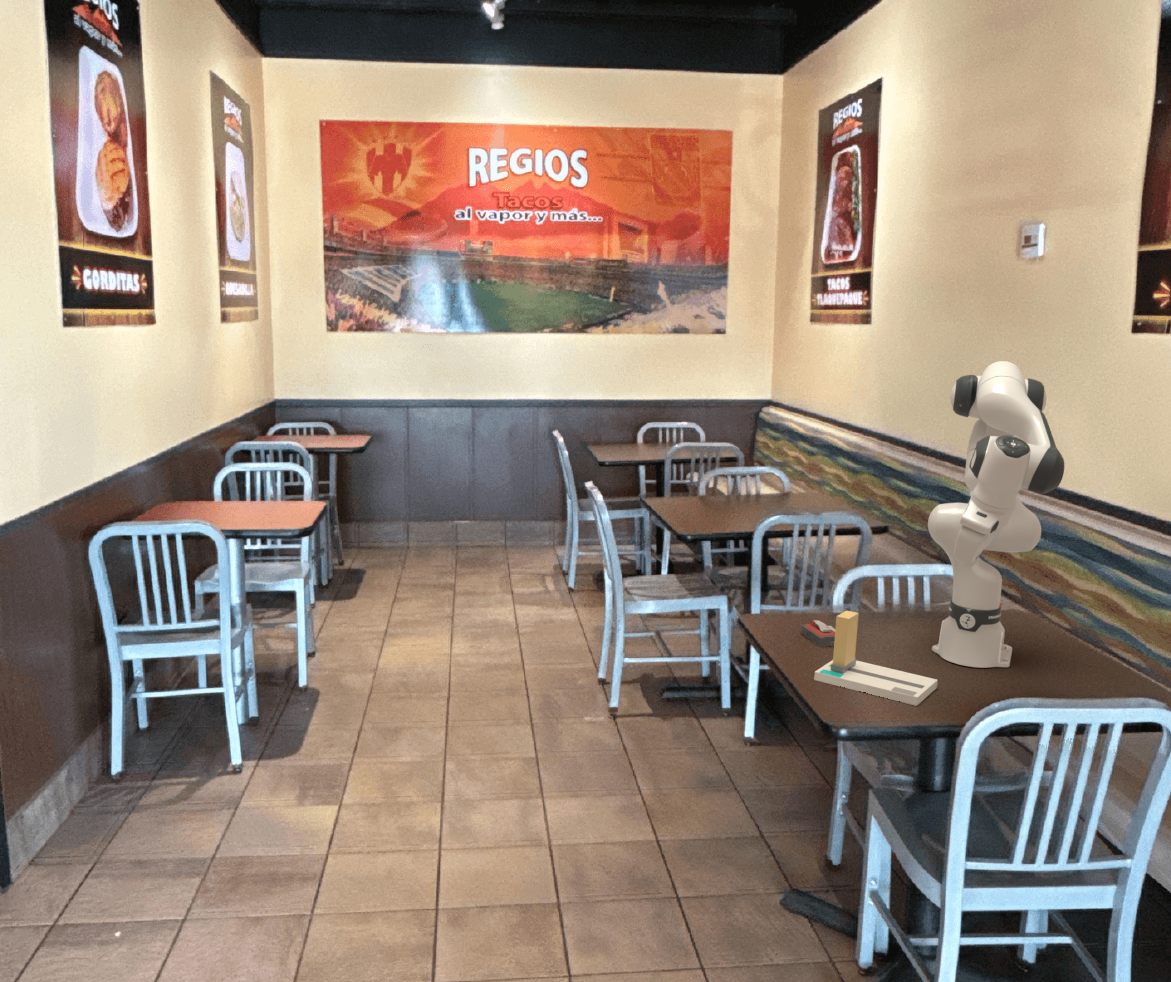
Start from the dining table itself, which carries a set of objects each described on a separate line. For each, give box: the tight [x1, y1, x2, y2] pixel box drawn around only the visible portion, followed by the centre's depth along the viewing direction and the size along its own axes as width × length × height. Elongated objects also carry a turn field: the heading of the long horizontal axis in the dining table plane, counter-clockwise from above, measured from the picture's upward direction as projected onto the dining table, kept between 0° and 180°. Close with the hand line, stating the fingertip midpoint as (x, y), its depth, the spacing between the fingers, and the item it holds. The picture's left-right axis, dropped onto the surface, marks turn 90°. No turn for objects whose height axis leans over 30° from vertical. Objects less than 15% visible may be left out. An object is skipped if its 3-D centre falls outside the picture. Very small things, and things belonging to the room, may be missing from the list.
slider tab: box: [831, 610, 860, 673], centre depth 243 cm, size 8×3×13 cm, turn 144°
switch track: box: [813, 659, 938, 707], centre depth 240 cm, size 14×24×2 cm, turn 54°
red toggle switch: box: [800, 618, 835, 648], centre depth 274 cm, size 9×4×20 cm
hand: (969, 564), depth 228 cm, fingers closed
